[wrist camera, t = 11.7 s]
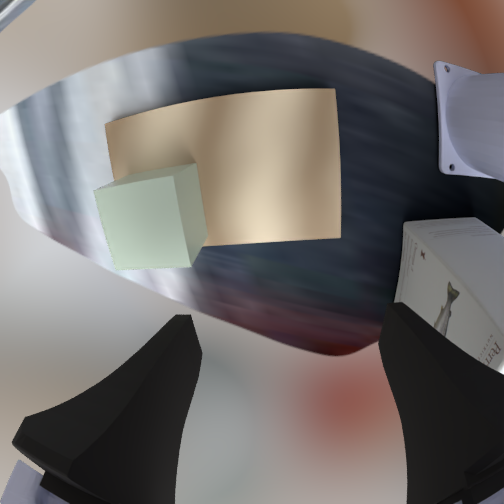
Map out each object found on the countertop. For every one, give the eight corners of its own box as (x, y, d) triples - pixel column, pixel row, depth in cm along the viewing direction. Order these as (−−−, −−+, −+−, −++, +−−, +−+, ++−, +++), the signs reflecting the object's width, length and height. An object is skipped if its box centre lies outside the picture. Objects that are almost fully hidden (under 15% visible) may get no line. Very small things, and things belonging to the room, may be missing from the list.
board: (330, 91, 14) (334, 88, 13) (336, 230, 18) (340, 237, 17) (114, 123, 15) (104, 124, 14) (138, 244, 19) (131, 251, 18)
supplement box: (400, 219, 17) (516, 345, 6) (475, 215, 16) (585, 305, 5) (389, 306, 20) (447, 441, 9) (459, 294, 19) (529, 399, 8)
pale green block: (196, 162, 15) (173, 175, 12) (208, 235, 17) (191, 266, 14) (128, 174, 16) (93, 190, 12) (143, 241, 18) (115, 270, 14)
